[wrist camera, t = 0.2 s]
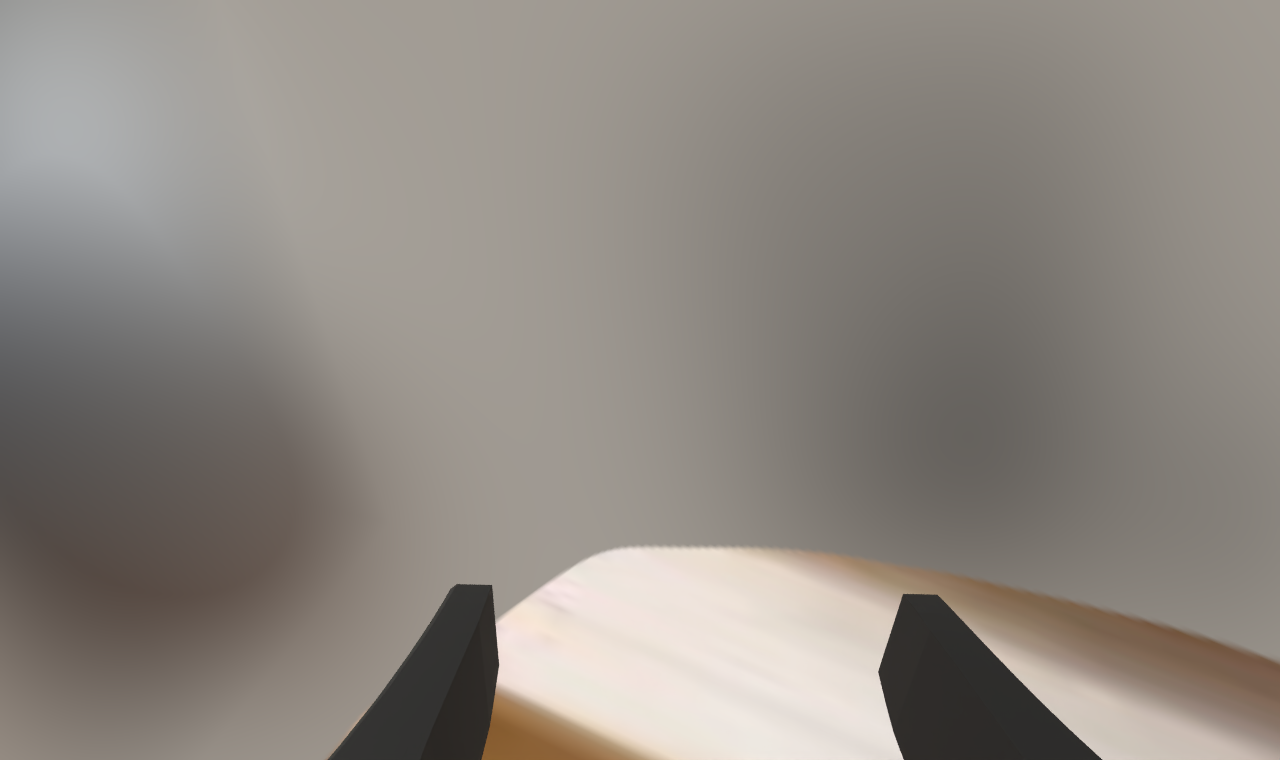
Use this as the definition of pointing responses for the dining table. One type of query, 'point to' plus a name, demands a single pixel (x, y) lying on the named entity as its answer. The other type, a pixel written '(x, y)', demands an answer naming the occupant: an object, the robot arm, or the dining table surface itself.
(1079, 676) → the dining table surface
